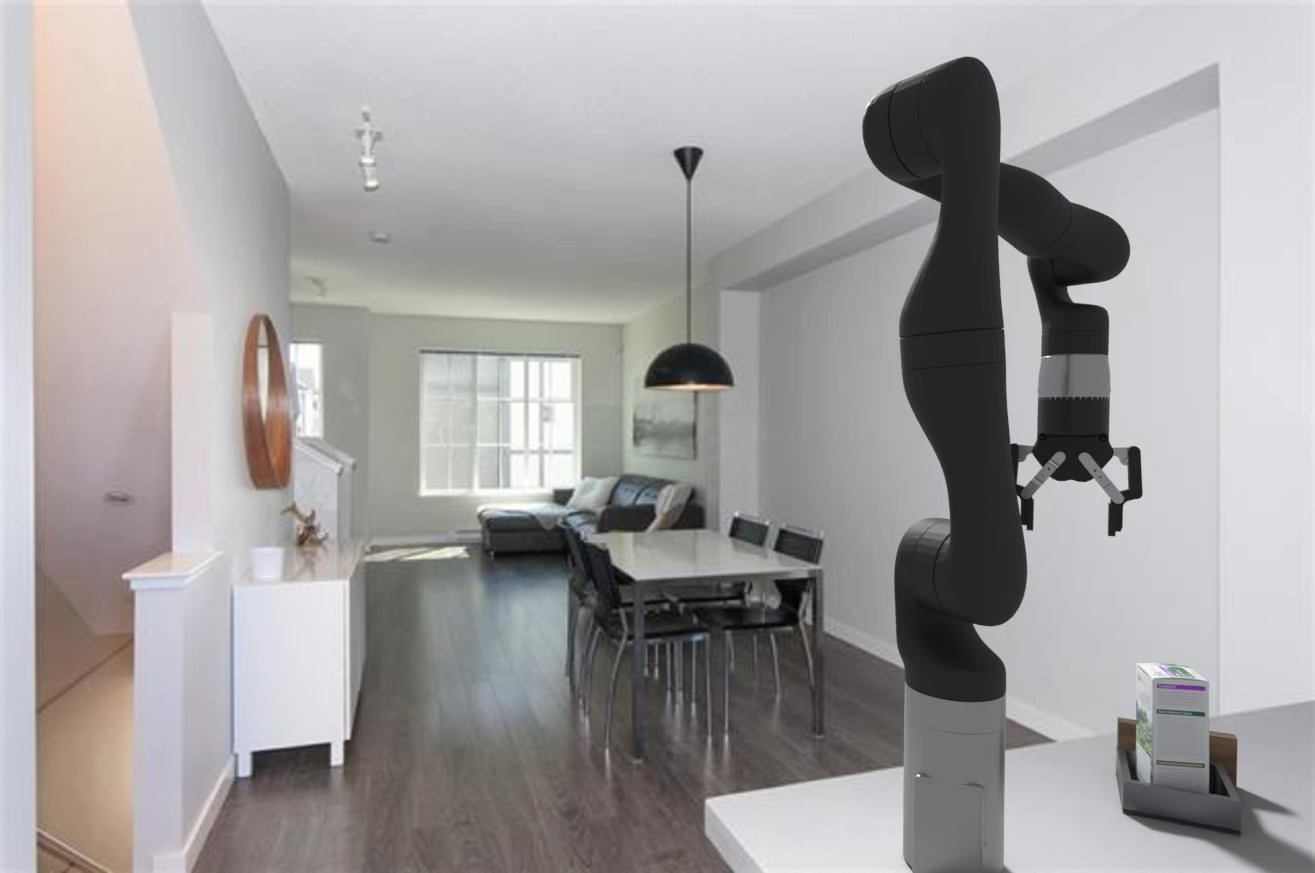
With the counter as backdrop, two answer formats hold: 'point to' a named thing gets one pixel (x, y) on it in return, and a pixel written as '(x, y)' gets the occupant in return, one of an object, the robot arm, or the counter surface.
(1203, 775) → the syrup box
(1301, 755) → the counter surface
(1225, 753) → the door edge slab
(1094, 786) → the counter surface
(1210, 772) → the keeper pocket
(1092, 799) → the counter surface
